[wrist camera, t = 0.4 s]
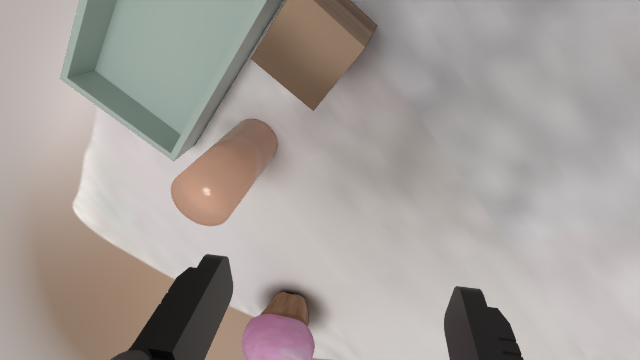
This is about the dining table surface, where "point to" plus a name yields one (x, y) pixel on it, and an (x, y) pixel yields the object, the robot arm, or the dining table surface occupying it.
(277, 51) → the walnut block
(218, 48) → the tray
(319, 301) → the dining table surface
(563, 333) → the dining table surface
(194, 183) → the terracotta cylinder
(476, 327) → the robot arm
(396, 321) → the dining table surface
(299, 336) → the cupcake
